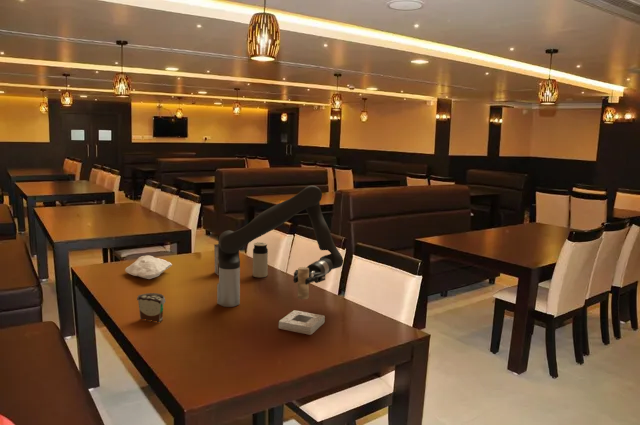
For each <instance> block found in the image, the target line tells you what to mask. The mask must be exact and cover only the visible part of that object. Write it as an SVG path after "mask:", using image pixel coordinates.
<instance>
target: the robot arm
mask: <svg viewBox="0 0 640 425" xmlns="http://www.w3.org/2000/svg"><path fill="white" fill-rule="evenodd" d="M322 197H323V193H322V190H321V189H320V188H319V187H318V186H316V185H307V186H306V187H305V188H303V189H302V190H301V191H299V192H298V193H297V194H296V195H294V196H292V197H290V198H289V199H287V200H284V201H282V202H279V203H277V204H274V205H273V206H271V207H269V208H267V209H265V210H264V211H262V212H260V213H259V214H257V215H256V216H255V217H254V218H253V219H252V220H250V222H248V224H245V225H244V226H243V227H241V228H239V229H238V230H235V231H233V230H225V231H223V232H221V233H220V235H219V236H218V240H217V242H218V243H217V244H218V254H219V275H218V278H219V279H218V283H217V285H216V289H217V292H216V299H217V300H216V303H217V304H218V305H219V306H221V307H225V308H232V307H237V306H239V305H240V303H241V301H240V300H241V299H240V298H241V286H240V285H241V260H240V259H241V258H240V250H241V249H242V248H244V247H245V246H246V245H249V244H250V243H251V242H253V241H254V240H256V239H258V238H259V237H262V236H264V235H265V234H268V233H270V232H271V231H273V230H275V229H276V228H278V227H280V226H282V225H284V224H285V223H286V222H288V221H290V220H291V219H292V218H293V217H294V216H296V215H297V214H299V213H300V212H302V211H306V213H307V215H308V218H309V220H310V222H311V226H312V229H313V233H314V236H315V239H316V243H317V245H318V248H319V250H320V251H328V252H329V254H326V255H323V256H321V257H320V258H319V259H318V260H316V261H314V262H312V263H310V264H309V265H308V266H306V267H307V268H309V277H308V278H307V279H306V280H305V284H306V285H307V284H311V283H312V284H313V283H316V284H318V283H320V282H324V281H326V276H327V274H329V273H330V272H331V271H332V270H334V269H339V268H341V267H342V266H343V264H344V259H343V255H342V254H341V252H340V251H339V250H338V248H337V246H336V244H335V243H334V240H333V239H334V238H333V237H332V233H331V230H330V227H328V223H327V222H326V220H325V218H324V215H323V213H322V209H321V203H320V202H321V200H322ZM292 280H293V283H295V284H296V283H297V284H298V269H296V270H294V272H293V279H292Z"/></svg>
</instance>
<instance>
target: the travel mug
mask: <svg viewBox="0 0 640 425" xmlns="http://www.w3.org/2000/svg"><path fill="white" fill-rule="evenodd" d="M267 246H268V243H267V242H264V241H263V242H258V241H257V242H254V243H253V248H252V277H255V278H266V277H267V276H268V258H269V257H268V256H269V255H268V254H269V249H268V247H267Z"/></svg>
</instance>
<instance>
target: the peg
mask: <svg viewBox="0 0 640 425" xmlns="http://www.w3.org/2000/svg"><path fill="white" fill-rule="evenodd" d="M297 270H298V282H297V299H299V300H308V299H309V297H310V296H309V294H310V293H309V291H310V290H309V288H310V285H309V284H310V283H309V284H307V285H306V284H305V280H306V279H307V278H308V277H309V268H307V266H302V267H298V268H297Z"/></svg>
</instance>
